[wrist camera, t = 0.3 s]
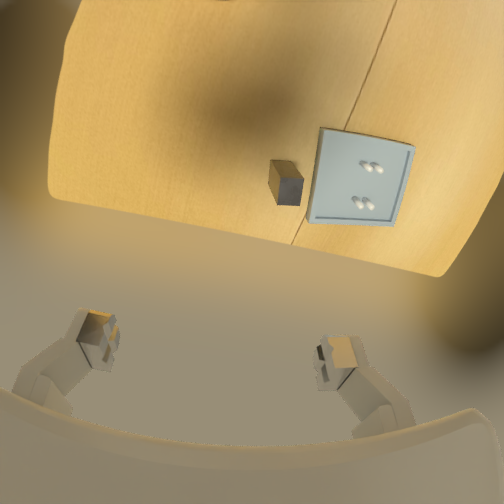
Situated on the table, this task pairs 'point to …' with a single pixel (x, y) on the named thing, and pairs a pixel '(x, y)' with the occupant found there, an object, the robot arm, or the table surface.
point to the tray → (358, 179)
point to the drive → (285, 183)
